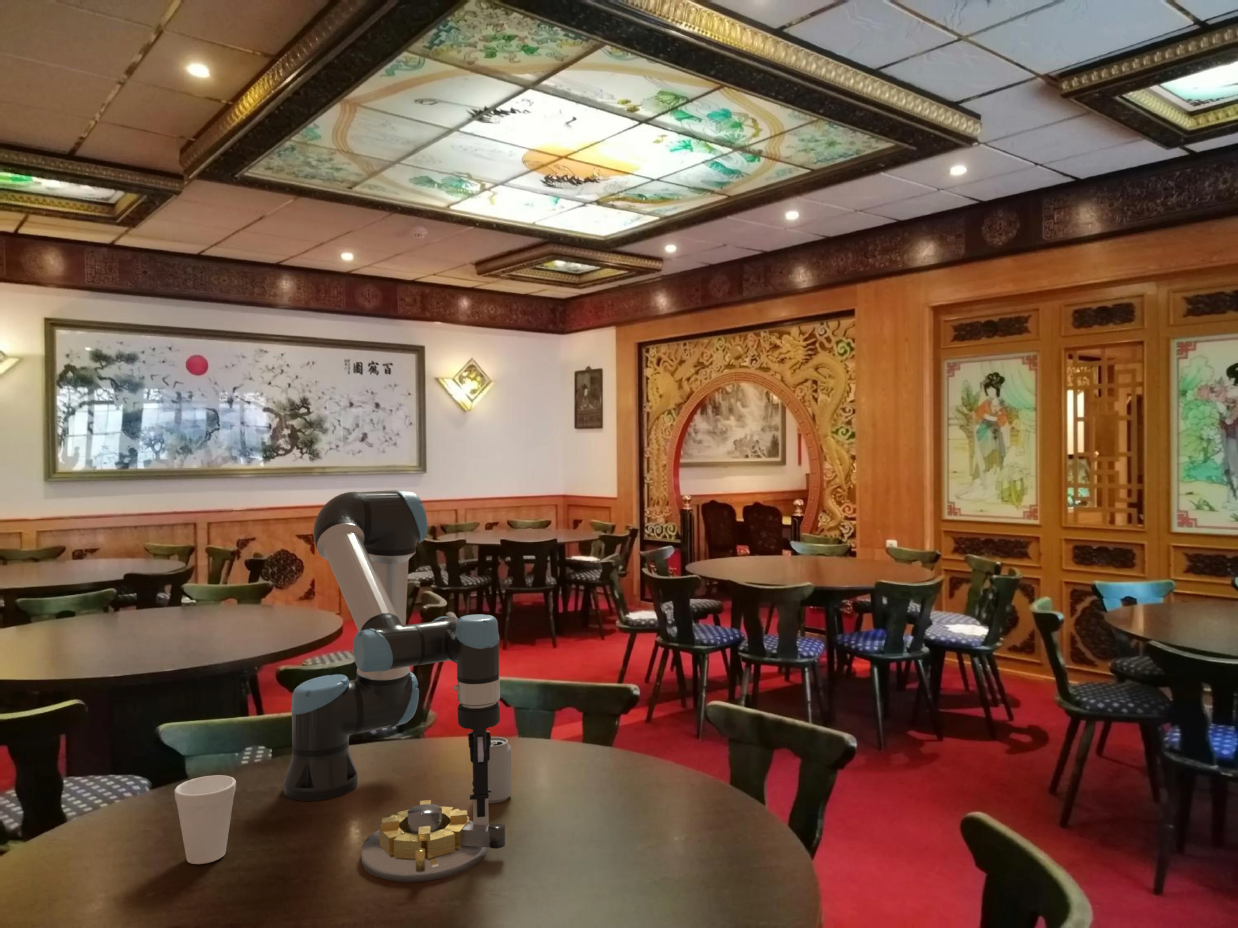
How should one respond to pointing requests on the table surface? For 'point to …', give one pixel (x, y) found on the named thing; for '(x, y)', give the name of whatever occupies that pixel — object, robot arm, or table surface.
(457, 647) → the robot arm
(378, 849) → the cap base
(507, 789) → the can
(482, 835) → the ring nut
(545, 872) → the table surface
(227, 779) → the cup
